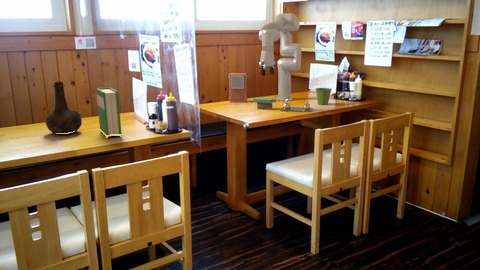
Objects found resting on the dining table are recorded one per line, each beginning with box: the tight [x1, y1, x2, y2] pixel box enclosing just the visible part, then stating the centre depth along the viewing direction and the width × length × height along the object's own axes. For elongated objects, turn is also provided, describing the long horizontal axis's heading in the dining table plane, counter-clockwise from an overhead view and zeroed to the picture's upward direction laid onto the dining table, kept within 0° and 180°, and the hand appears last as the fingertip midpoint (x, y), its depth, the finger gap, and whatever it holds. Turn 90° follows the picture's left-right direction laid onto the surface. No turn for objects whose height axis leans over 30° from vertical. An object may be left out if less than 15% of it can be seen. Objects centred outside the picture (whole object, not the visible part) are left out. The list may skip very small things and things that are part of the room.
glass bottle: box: [45, 80, 83, 134], centre depth 225 cm, size 18×18×28 cm
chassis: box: [279, 99, 314, 113], centre depth 283 cm, size 12×20×7 cm, turn 73°
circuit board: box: [252, 97, 278, 104], centre depth 288 cm, size 7×16×2 cm, turn 73°
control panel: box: [227, 72, 249, 104], centre depth 316 cm, size 21×7×15 cm
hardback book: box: [95, 87, 122, 135], centre depth 221 cm, size 18×7×24 cm, turn 29°
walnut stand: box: [256, 102, 273, 110], centre depth 289 cm, size 3×10×5 cm, turn 73°
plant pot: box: [315, 87, 333, 106], centre depth 302 cm, size 12×12×11 cm
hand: (267, 75), depth 281 cm, fingers open, 9 cm apart
